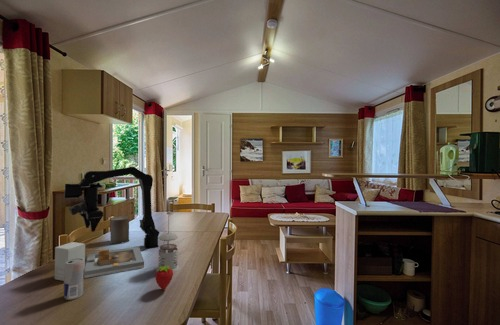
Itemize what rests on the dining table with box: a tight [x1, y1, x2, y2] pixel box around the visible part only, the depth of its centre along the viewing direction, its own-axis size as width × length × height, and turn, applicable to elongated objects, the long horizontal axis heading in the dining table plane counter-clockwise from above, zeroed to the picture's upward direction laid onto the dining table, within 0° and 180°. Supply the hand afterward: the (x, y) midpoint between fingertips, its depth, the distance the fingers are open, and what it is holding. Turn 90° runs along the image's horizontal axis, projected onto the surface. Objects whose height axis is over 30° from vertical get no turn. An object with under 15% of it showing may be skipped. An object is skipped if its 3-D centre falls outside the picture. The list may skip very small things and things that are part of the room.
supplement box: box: [54, 241, 86, 282], centre depth 100 cm, size 7×7×13 cm
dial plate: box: [83, 246, 145, 279], centre depth 114 cm, size 22×22×3 cm
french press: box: [155, 210, 180, 273], centre depth 110 cm, size 10×12×25 cm
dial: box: [97, 249, 132, 266], centre depth 114 cm, size 14×14×5 cm
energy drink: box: [63, 258, 84, 301], centre depth 86 cm, size 5×5×12 cm
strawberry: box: [154, 265, 174, 291], centre depth 91 cm, size 6×8×10 cm
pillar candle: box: [109, 215, 130, 245], centre depth 145 cm, size 10×10×15 cm
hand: (90, 229), depth 120 cm, fingers open, 9 cm apart
